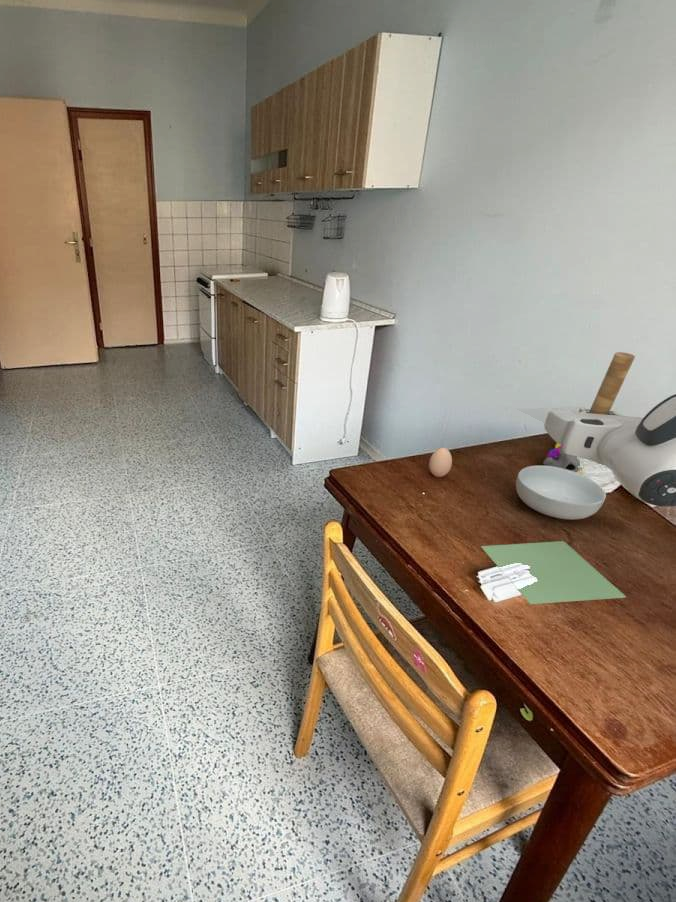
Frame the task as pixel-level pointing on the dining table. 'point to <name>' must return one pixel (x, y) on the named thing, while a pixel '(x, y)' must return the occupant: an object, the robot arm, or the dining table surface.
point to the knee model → (563, 460)
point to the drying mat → (554, 572)
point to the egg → (440, 462)
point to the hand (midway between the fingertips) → (595, 413)
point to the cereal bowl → (559, 492)
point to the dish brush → (612, 383)
